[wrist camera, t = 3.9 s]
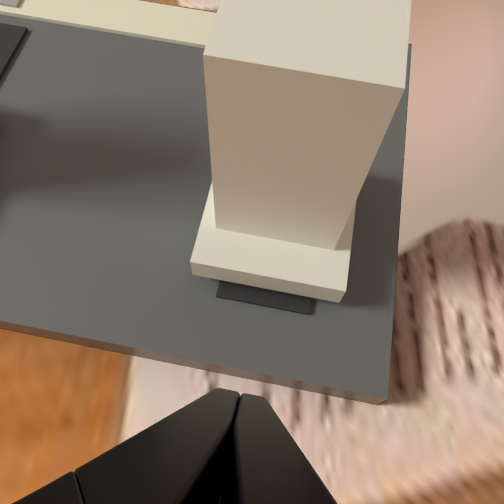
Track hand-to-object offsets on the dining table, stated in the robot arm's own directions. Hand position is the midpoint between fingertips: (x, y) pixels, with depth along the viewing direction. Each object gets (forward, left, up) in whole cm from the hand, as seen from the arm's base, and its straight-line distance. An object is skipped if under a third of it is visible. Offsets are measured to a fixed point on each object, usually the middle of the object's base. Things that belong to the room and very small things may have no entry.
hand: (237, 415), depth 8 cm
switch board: (+12, +8, -11) cm, 18 cm away
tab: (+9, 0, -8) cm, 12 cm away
